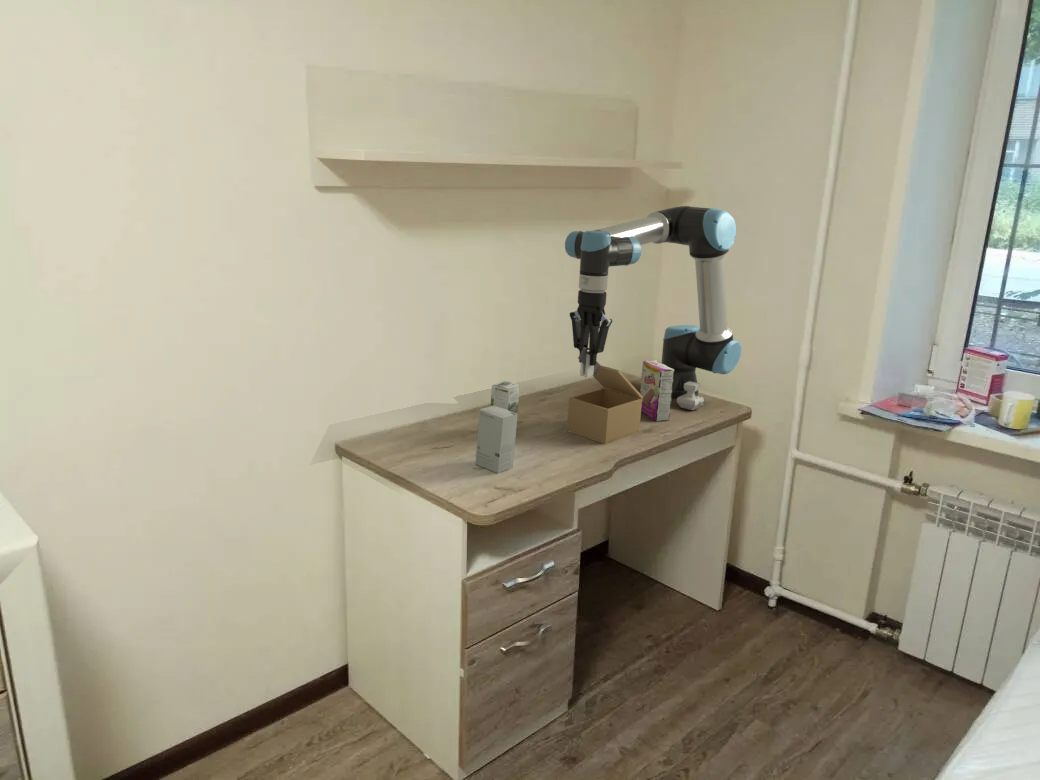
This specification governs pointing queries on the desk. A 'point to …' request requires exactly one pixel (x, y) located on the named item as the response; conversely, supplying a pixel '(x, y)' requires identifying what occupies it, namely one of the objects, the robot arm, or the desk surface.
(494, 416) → the skincare box
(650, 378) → the candy bar box
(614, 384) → the flap
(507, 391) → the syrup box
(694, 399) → the stamp
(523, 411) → the desk surface
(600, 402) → the carton
